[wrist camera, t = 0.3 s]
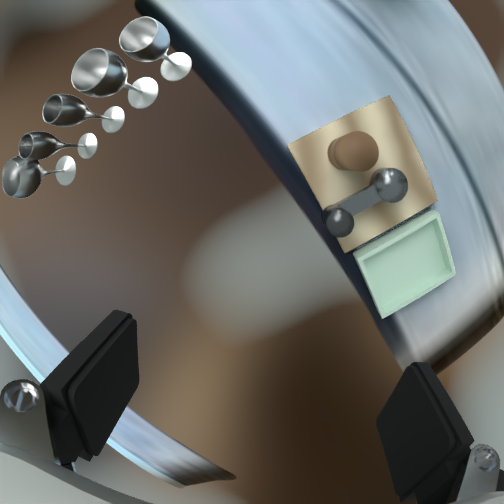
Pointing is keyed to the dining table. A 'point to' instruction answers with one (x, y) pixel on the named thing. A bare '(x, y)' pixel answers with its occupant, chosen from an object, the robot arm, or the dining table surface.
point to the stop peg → (353, 152)
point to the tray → (406, 262)
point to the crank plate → (349, 182)
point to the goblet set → (75, 110)
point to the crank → (365, 200)
